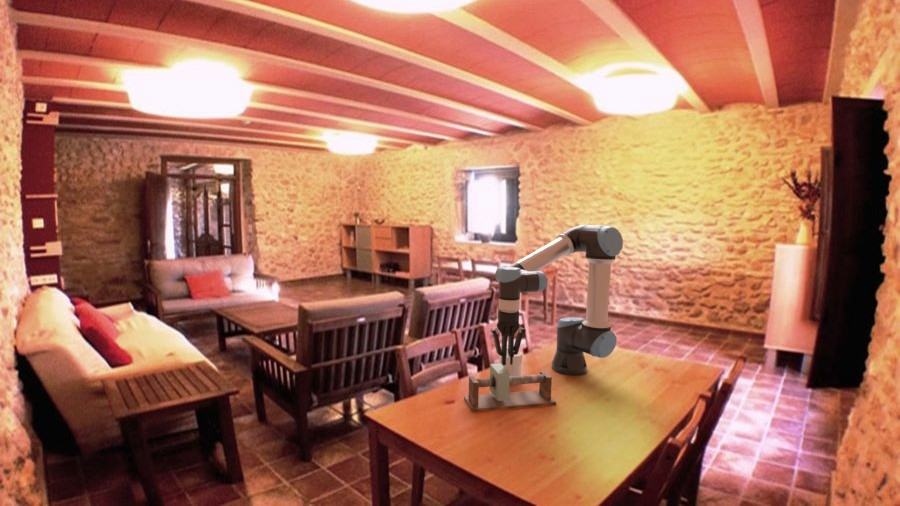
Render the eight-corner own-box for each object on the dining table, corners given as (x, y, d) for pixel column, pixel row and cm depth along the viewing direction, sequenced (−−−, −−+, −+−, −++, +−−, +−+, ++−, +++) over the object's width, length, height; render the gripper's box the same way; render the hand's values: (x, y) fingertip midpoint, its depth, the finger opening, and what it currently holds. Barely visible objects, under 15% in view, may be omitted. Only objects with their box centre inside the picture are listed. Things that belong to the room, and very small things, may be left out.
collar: (499, 388, 169) (500, 363, 168) (508, 400, 160) (509, 373, 159) (489, 389, 168) (490, 363, 167) (498, 401, 159) (498, 373, 158)
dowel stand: (543, 392, 174) (544, 368, 173) (556, 404, 163) (557, 379, 162) (464, 398, 167) (464, 373, 166) (471, 412, 156) (472, 385, 155)
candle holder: (520, 376, 190) (521, 349, 188) (522, 385, 180) (523, 357, 179) (497, 375, 191) (498, 348, 189) (497, 384, 181) (498, 355, 180)
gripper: (521, 307, 166) (519, 368, 169) (488, 308, 163) (486, 370, 166) (529, 311, 159) (527, 375, 161) (494, 313, 156) (492, 378, 159)
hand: (506, 373), depth 164 cm, fingers closed
